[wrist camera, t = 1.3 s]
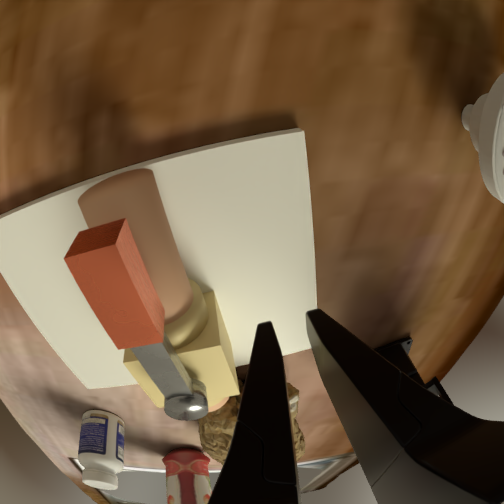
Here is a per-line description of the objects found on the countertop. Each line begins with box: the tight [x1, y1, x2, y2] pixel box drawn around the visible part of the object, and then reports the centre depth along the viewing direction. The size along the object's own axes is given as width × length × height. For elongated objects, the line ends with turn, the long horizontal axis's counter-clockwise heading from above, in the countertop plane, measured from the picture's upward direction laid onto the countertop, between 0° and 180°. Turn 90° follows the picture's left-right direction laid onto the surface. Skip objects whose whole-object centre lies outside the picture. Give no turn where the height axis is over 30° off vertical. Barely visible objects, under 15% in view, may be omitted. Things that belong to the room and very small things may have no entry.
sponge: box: [198, 380, 305, 465], centre depth 30 cm, size 13×8×20 cm
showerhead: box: [462, 73, 504, 203], centre depth 14 cm, size 9×7×10 cm
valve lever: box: [64, 218, 209, 420], centre depth 14 cm, size 13×3×2 cm, turn 9°
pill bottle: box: [78, 410, 125, 490], centre depth 26 cm, size 5×5×9 cm
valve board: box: [0, 128, 317, 412], centre depth 19 cm, size 18×22×6 cm
